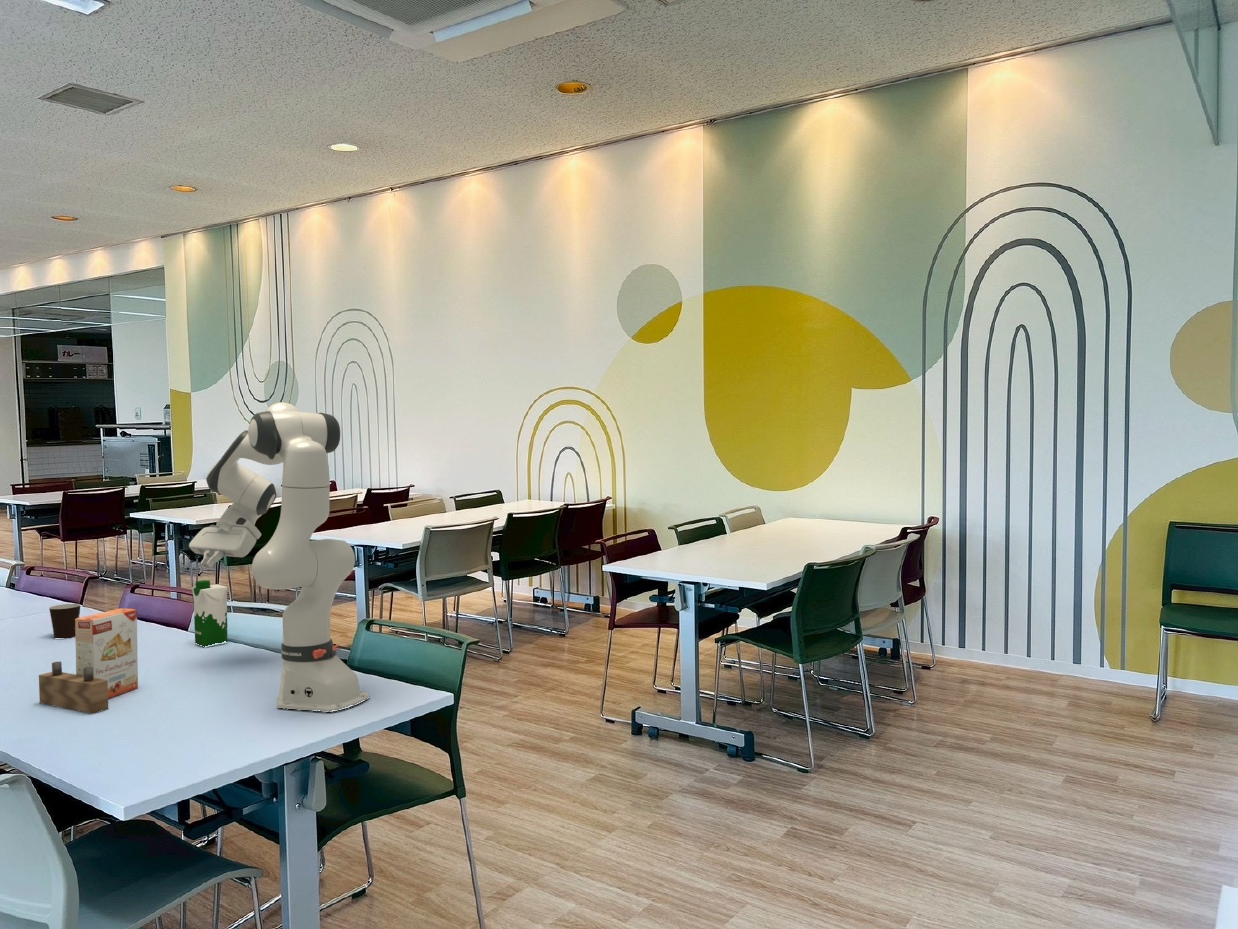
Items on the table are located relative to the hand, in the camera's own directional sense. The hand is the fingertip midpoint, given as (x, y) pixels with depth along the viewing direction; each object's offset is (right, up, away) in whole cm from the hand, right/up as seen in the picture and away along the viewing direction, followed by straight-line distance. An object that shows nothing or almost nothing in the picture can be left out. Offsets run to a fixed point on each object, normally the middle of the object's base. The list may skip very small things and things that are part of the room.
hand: (205, 565), depth 245 cm
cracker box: (-15, -31, -20) cm, 40 cm away
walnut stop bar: (-19, -31, -29) cm, 46 cm away
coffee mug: (-66, -28, +46) cm, 85 cm away
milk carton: (-13, -28, +33) cm, 45 cm away
